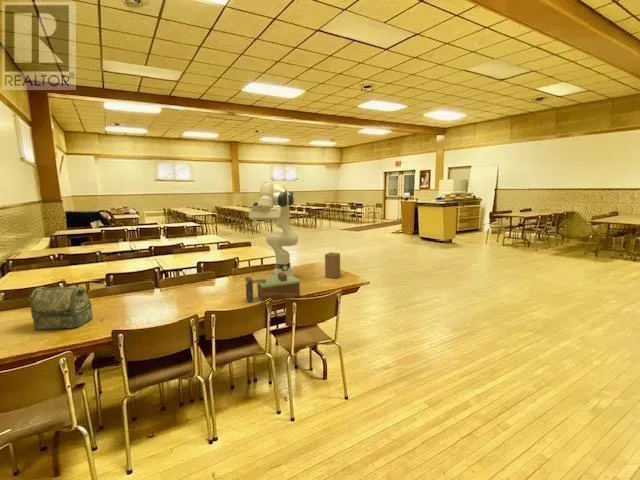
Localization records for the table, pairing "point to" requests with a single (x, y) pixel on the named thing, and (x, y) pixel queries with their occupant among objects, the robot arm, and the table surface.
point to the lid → (279, 280)
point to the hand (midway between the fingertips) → (264, 226)
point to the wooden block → (332, 265)
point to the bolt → (258, 280)
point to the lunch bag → (60, 307)
